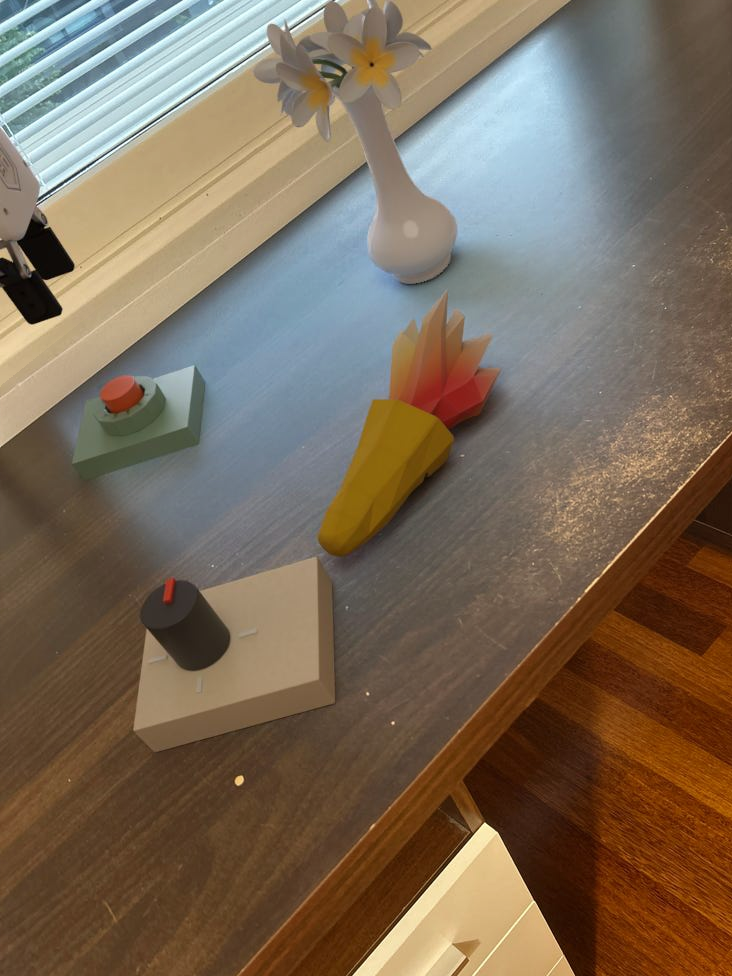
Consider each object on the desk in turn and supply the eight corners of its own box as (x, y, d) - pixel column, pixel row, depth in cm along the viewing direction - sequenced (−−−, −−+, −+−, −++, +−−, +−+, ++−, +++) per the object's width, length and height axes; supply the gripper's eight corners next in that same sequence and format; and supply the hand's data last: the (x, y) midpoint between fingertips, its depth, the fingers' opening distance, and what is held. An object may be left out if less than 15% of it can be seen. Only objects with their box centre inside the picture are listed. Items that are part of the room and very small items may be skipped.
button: (107, 419, 97) (97, 404, 95) (112, 396, 99) (102, 381, 98) (142, 407, 96) (132, 393, 95) (145, 385, 99) (136, 370, 97)
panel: (154, 753, 74) (131, 729, 71) (168, 629, 81) (148, 604, 79) (335, 703, 72) (318, 677, 69) (332, 581, 79) (316, 554, 77)
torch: (357, 596, 83) (474, 366, 92) (411, 584, 77) (531, 338, 86) (276, 538, 79) (407, 303, 88) (326, 520, 73) (461, 270, 82)
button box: (84, 480, 98) (60, 450, 95) (98, 417, 104) (75, 386, 101) (199, 444, 96) (177, 411, 93) (205, 382, 103) (185, 349, 100)
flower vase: (381, 227, 112) (285, -21, 93) (522, 236, 103) (446, -37, 84) (313, 299, 107) (197, 52, 88) (455, 316, 97) (359, 43, 79)
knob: (228, 663, 73) (192, 617, 69) (172, 677, 74) (133, 632, 70) (233, 617, 76) (198, 570, 72) (179, 631, 76) (141, 585, 72)
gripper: (-73, 120, 69) (78, 338, 83) (-21, 27, 80) (105, 232, 94) (-169, 156, 70) (-4, 366, 84) (-104, 60, 81) (32, 258, 95)
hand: (52, 294), depth 89 cm, fingers open, 6 cm apart
